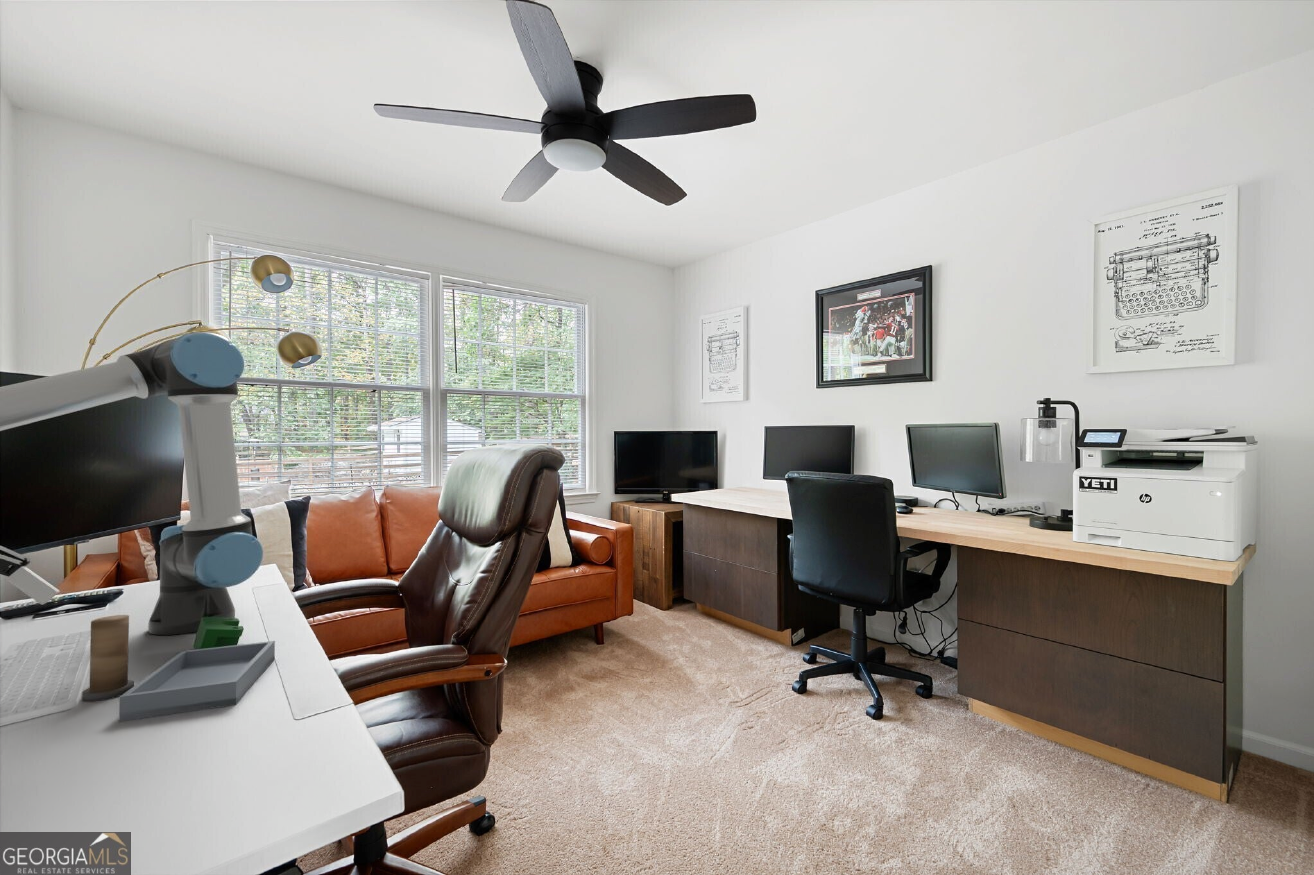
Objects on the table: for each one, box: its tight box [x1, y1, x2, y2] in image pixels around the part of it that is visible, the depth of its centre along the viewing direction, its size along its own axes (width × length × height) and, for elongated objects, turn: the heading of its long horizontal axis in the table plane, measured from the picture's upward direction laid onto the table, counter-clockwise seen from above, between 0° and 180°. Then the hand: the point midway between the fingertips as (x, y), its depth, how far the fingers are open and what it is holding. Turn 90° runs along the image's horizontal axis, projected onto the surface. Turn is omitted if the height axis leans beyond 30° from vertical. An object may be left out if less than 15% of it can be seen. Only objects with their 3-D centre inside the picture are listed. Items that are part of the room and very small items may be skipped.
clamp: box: [192, 617, 244, 650], centre depth 109 cm, size 12×6×9 cm, turn 37°
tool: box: [81, 614, 135, 703], centre depth 89 cm, size 6×6×12 cm
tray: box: [118, 640, 276, 722], centre depth 91 cm, size 20×14×4 cm
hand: (21, 608), depth 85 cm, fingers open, 13 cm apart
